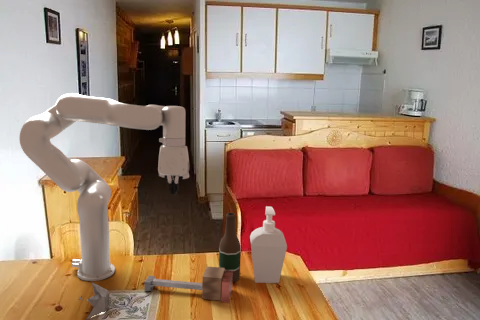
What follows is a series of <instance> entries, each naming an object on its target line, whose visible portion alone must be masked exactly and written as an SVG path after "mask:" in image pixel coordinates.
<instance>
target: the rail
mask: <svg viewBox="0 0 480 320" xmlns="http://www.w3.org/2000/svg"><path fill="white" fill-rule="evenodd" d="M155 277H156V276H154V275H148V276H147V278H146V279H145V280H144V285H143V286H144V292H145V291H151V290H152V291H153V289H154V288H155V287H164V288H175V289H187V290H195V291H196V290H198V291H202V282H195V281H194V282H193V281H184V280H182V281H181V280H172V279H164V278H163V279H161V278H155ZM232 279H233V271H230V270H226V271H225V274H224V277H223V280H222V294H221V300H220V302H221V303H223V304H224V303H225V304H226V303H227V304H229V303H230V300H231V296H232V292H233V282H232ZM152 291H151V292H152Z"/></svg>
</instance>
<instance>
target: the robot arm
mask: <svg viewBox="0 0 480 320" xmlns="http://www.w3.org/2000/svg"><path fill="white" fill-rule="evenodd" d="M76 122H80V123H81V122H82V123H90V124H91V123H92V124H98V125H99V124H100V125H109V126H113V127H115V126H116V127H121V128H127V129H133V130H134V129H135V130H146V131H149V130H150V131H152V130H156V129H158V128H160V126H162V137H160V138H159V139H158V142H159V143H162V144H161V145H160V147H159V154H158V165H157V166H158V167H157V171H158V177H161V178H164V179H165V180H166V182H167V183H168V191H169V192H170V195H177V193H178V192H179V191H180V189H179V188H180V187H179V185H180V184H179V183H180V182H181V181H182V180H186V179H189V178H190V173H189V171H190V158H189V150H188V146H187V145H186V108H185V107H183V106H180V105H179V106H178V105H166V106H165V105H158V104H148V105H137V104H129V103H123V102H119V101H117V100H114V99H112V98H106V97H98V96H97V97H96V96H89V95H83V94H79V93H75V92H74V93H73V92H71V93H65V94H63V95H61V96H60V97H58V99H57V100H56V102H55V104H54V105H53V106H52V107H50V108H48V109H47V110H46V111H44V112H43V113H41V114H38V115H34V116H32V117H30V118H29V119H27V120H26V121H25V122H24V123H23V125H22V126H21V128H20V131H19V144H20V148H21V149H22V151H23V153H24V154H25V156H27V158H28V159H29V160H31V162H33V163H34V164H35V165H36V166H37V167H38V168H39V169H40V170H41V171H42V172H43V173H44V174H45V175H46V176H47V177H48V178H49V179H50V180H51V181H52V182H53V183H54V184H56V186H58V188H60V189H61V190H62V191H64V192H67V193H74V192H76V191H77V192H78V193H79V195H78V198H77V203H76V208H77V209H76V210H77V215H78V216H77V217H78V223H79V235H80V237H79V238H80V254H81V255H80V257H81V258H80V259H79V258H73V259H72V261H71V267H72V268H77V269H78V270H77V278H78V279H80V280H82V281H85V282H95V281H96V282H97V281H102V280H105V279H107V278H110V277H111V276H113V275H114V273H115V271H116V267H115V265H114V264H112V263H111V250H110V249H111V248H110V247H111V246H110V245H111V244H110V243H111V242H110V224H109V223H110V222H109V210H108V206H109V202H110V200H111V197H112V188H111V186H110V185H109V184H108V183H107V182H106V180H105V179H103V177H101V176H100V174H98V172H96V170H94V169H93V168H92V167H91V166H90V165H89V164H88V163H87V162H85V161H84V160H81V159H78V158H72V159H70V158H69V157H67V155H65V153H64V152H63V151H62V150H60V148H58V147H57V146H55V145H54V144H53V143H52V142H51V139H53V138H55V137H57V136H58V135H59V134H61V133H62V132H64V130H67V128H69V127H70V126H71V125H73V124H74V123H76ZM174 177H175V178H174Z"/></svg>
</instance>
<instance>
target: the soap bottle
mask: <svg viewBox="0 0 480 320" xmlns="http://www.w3.org/2000/svg"><path fill="white" fill-rule="evenodd" d="M264 215H265V216H266V219H264V220H263V221H262V226H261V227H260V226H259V227H258V228H255V229H254V230H253V231H251V233H250V235H249V239H250V248H251V258H252V267H253V277H254V283H256V284H257V283H259V284H262V283H263V284H279V283H280V279H281V274H282V272H283V271H282V270H283V266H284V263H285V258H286V254H287V249H288V245H287V241H286V238H285V235H284V232H283V231H282V230H280V229H279V228H277V227H276V222H275V220H273V216H276V212H275V209H274V208H273V206H267V205H266V206H265V213H264Z"/></svg>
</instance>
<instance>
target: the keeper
mask: <svg viewBox="0 0 480 320" xmlns="http://www.w3.org/2000/svg"><path fill="white" fill-rule="evenodd" d="M224 274H225V268H219V266H206V268H205V270H204V272H203V274H202V280H201V281H202V282H201V283H202V290H201V291H202V292H201V294H202V296H201V298H202V299H203V300H214V301H221V294H222V280H223V277H224ZM202 299H201V300H202Z"/></svg>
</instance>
